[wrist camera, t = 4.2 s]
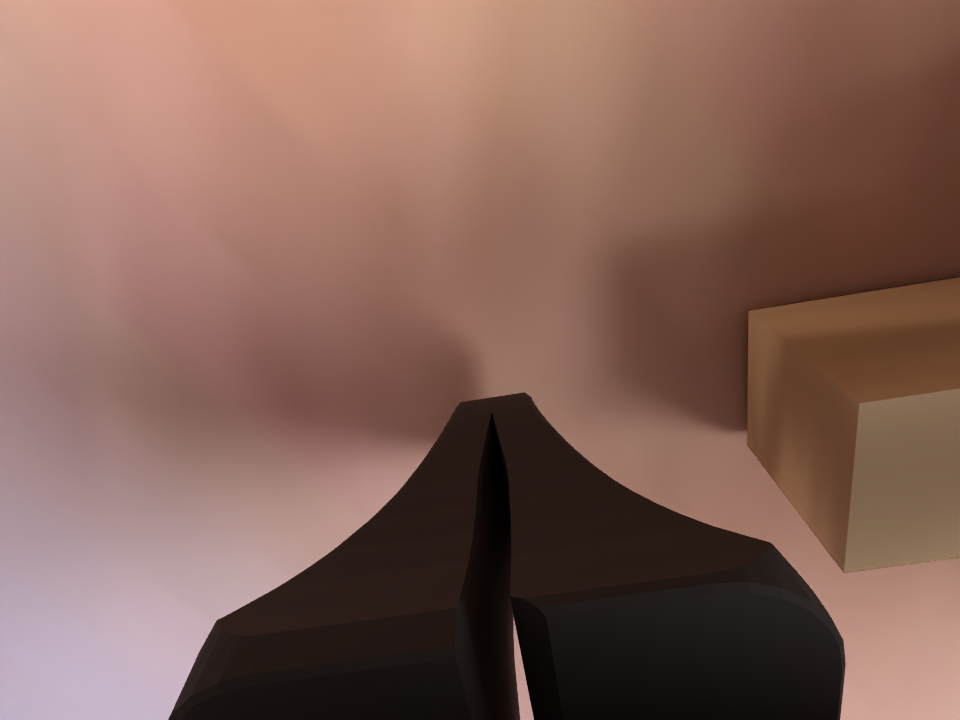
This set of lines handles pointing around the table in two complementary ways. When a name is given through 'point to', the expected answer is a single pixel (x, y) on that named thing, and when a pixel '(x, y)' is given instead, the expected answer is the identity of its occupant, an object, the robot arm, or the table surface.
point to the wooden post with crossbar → (863, 419)
